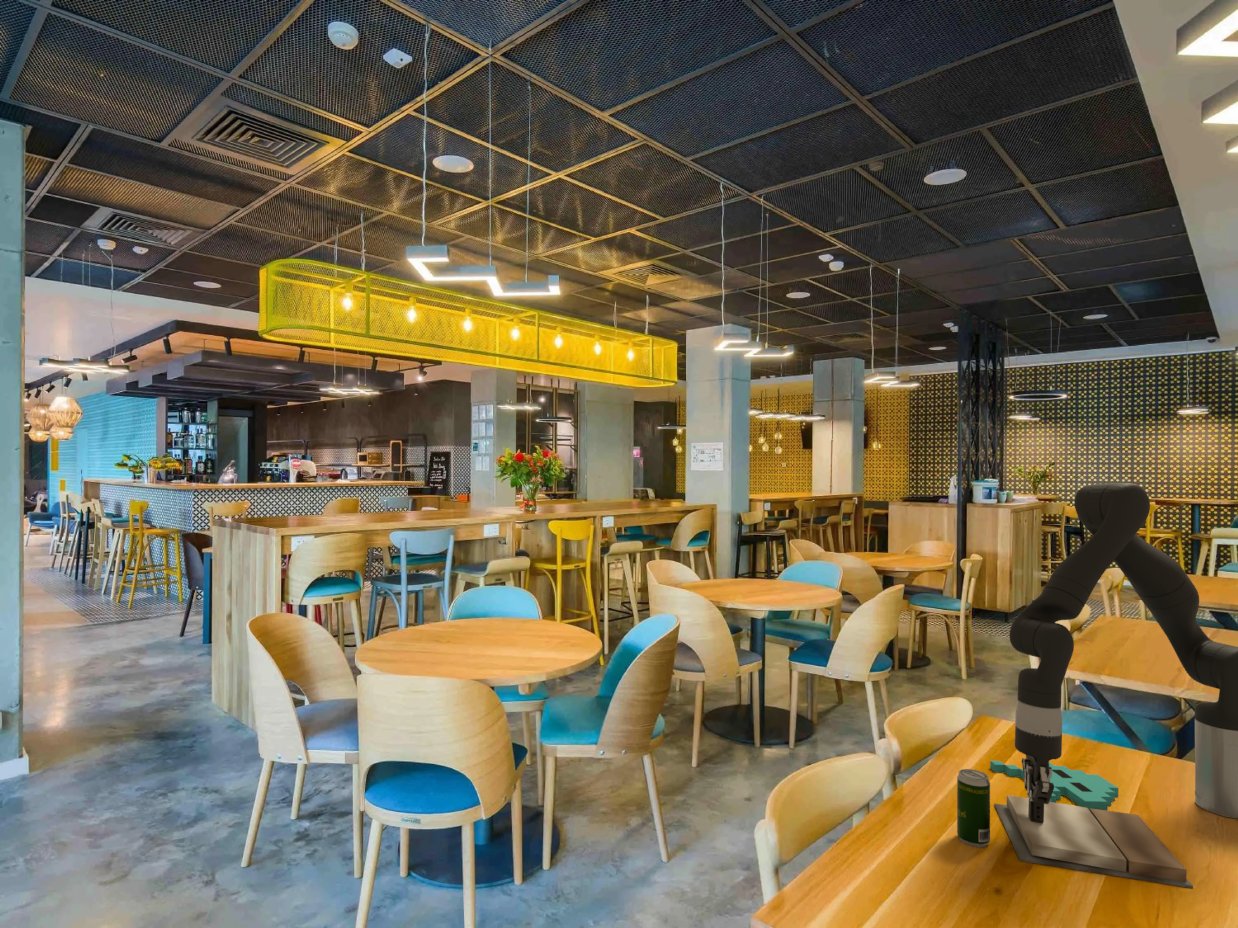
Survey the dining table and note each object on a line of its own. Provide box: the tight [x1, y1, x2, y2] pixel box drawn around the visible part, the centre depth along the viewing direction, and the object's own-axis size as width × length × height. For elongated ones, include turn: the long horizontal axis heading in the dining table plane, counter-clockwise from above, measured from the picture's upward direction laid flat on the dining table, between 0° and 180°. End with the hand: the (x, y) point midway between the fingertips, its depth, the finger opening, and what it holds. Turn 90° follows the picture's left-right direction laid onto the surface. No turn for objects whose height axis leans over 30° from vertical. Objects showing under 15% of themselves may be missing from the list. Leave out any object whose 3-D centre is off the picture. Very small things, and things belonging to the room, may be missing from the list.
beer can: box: [956, 768, 991, 848], centre depth 129 cm, size 5×5×12 cm
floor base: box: [993, 803, 1194, 889], centre depth 129 cm, size 25×22×2 cm
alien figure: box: [989, 760, 1119, 811], centre depth 151 cm, size 20×2×20 cm
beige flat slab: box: [1006, 794, 1126, 872], centre depth 130 cm, size 14×20×2 cm
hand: (1035, 820), depth 131 cm, fingers closed
